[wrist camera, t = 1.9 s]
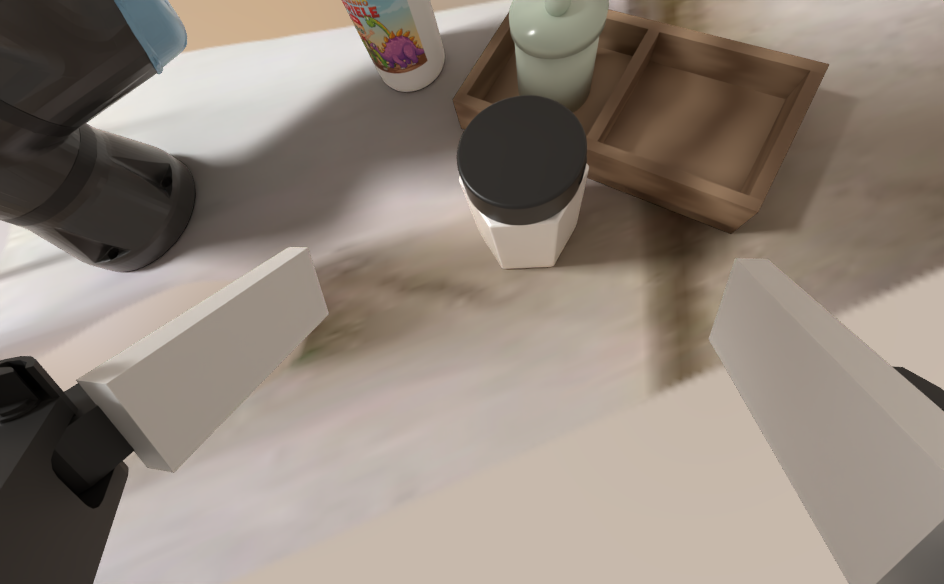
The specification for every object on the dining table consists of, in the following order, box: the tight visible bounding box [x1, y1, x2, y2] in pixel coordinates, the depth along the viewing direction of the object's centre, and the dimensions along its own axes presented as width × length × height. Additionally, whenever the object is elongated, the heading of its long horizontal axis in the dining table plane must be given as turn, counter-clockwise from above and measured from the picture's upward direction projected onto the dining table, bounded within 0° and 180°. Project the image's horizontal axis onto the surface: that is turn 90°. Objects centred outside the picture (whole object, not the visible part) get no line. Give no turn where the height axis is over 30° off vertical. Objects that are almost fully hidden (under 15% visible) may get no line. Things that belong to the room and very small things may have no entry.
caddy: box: [453, 9, 829, 234], centre depth 33 cm, size 27×14×4 cm, turn 59°
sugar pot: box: [509, 0, 609, 112], centre depth 31 cm, size 8×8×10 cm
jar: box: [457, 95, 589, 269], centre depth 28 cm, size 9×8×12 cm
